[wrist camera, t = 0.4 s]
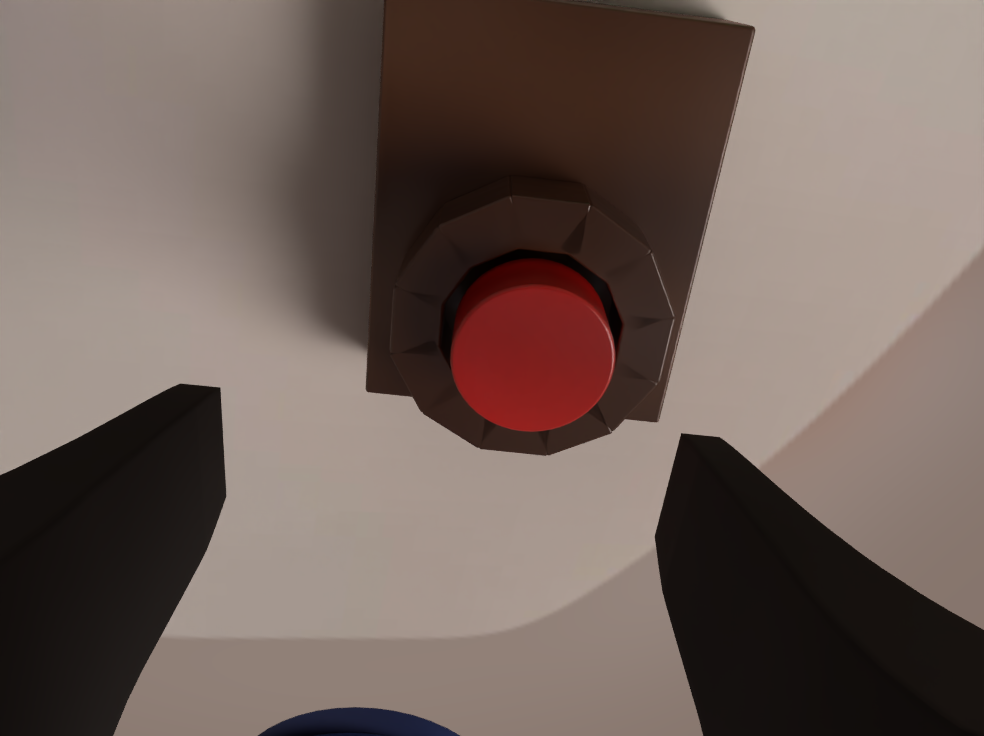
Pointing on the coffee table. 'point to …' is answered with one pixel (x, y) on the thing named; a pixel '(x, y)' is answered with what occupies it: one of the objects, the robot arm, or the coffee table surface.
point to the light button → (531, 345)
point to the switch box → (544, 183)
